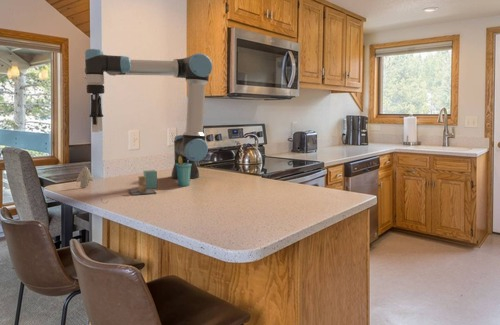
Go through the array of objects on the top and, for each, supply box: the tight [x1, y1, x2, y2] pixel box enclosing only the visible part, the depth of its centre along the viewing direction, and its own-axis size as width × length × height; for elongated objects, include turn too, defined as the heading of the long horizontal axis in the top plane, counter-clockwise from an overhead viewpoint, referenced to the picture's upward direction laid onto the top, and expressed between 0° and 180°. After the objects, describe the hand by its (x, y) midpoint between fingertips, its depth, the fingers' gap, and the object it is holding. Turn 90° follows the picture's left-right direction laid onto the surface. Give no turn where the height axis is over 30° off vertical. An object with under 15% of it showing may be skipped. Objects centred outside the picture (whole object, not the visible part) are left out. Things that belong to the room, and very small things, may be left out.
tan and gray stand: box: [128, 175, 157, 196], centre depth 172 cm, size 10×10×7 cm
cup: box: [176, 156, 194, 187], centre depth 189 cm, size 14×8×15 cm, turn 46°
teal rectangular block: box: [143, 169, 158, 189], centre depth 185 cm, size 5×5×8 cm
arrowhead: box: [76, 166, 94, 189], centre depth 182 cm, size 8×3×10 cm, turn 139°
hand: (97, 131), depth 181 cm, fingers open, 13 cm apart
